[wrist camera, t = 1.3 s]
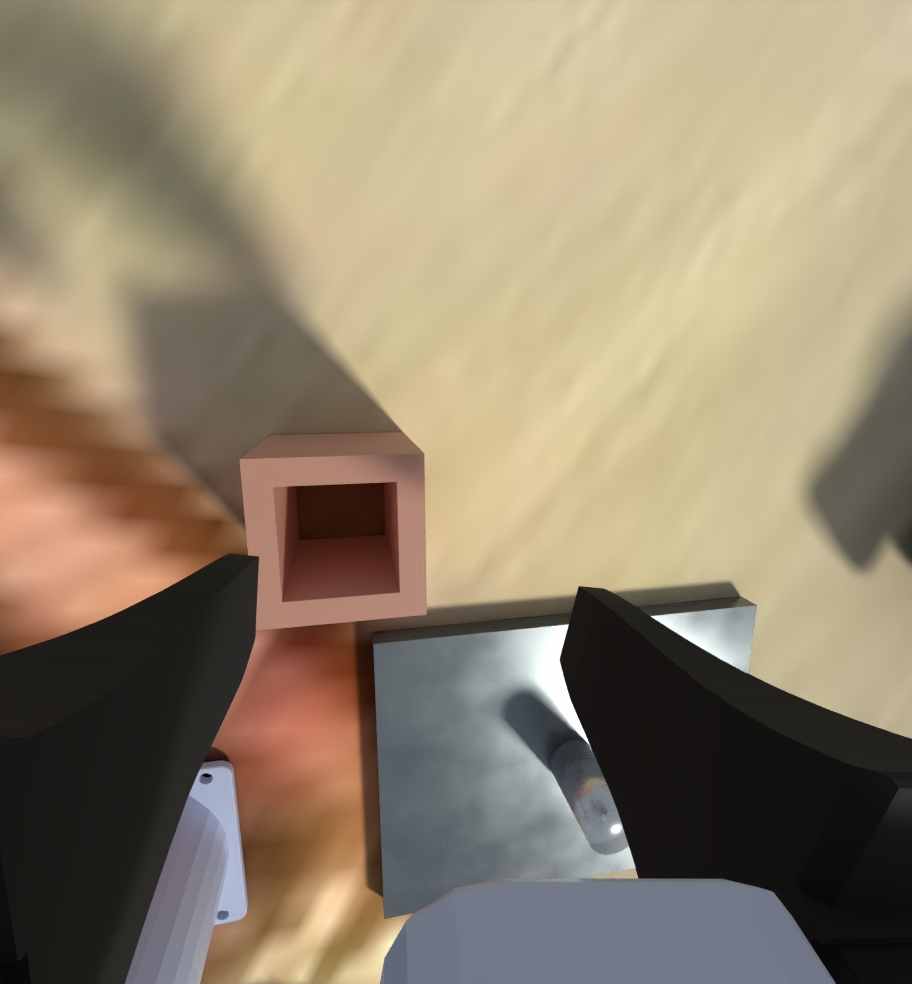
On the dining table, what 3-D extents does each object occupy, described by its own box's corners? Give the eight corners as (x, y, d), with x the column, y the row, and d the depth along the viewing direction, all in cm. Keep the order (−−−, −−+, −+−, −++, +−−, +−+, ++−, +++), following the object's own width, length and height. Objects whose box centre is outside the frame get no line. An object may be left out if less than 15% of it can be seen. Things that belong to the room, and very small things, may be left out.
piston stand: (382, 898, 25) (391, 1019, 21) (372, 632, 22) (379, 702, 18) (712, 834, 29) (784, 924, 24) (741, 596, 26) (831, 647, 21)
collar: (280, 560, 21) (255, 630, 15) (270, 434, 20) (239, 459, 14) (405, 551, 22) (426, 614, 16) (402, 431, 21) (424, 453, 15)
